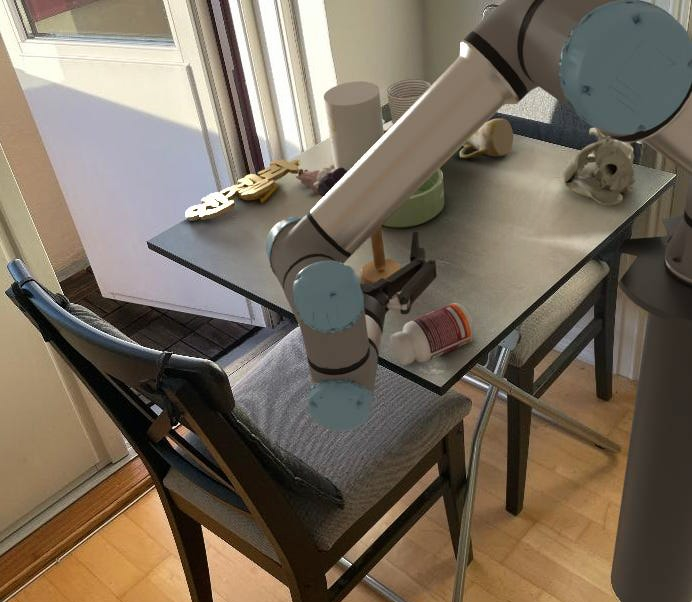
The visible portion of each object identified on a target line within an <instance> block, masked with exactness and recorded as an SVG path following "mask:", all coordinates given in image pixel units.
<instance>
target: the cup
mask: <svg viewBox="0 0 692 602" xmlns="http://www.w3.org/2000/svg"><path fill="white" fill-rule="evenodd" d="M431 85H432V82H429V81H428V80H426V79H420V78H413V79H411V78H409V79H403V80H400V81H397V82H394V83H393V84H391V85H389V86H388V87H387V89H386V96H387V101H388V106H389V111H390V116H391V120H392V122H393V125H394V124H395V123H396V122H397V121H398V120H399V119H400V117H401V116H402V115H403V114H404V113H405V112H406V111H407V110H408V109H409V108H410V107H411V106H412V105H413V104H414V103H415V102H416V101H417V100H418V99H419V98H420V97H421V96H422V95H423V94H424V93H425V92H426V91H427V90H428V89H429V87H430V86H431Z"/></svg>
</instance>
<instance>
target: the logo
mask: <svg viewBox="0 0 692 602" xmlns="http://www.w3.org/2000/svg"><path fill="white" fill-rule="evenodd" d="M253 184H254V183H253ZM275 184H276V185H275V186H274V187H272V188H271V189H269V190H267V191H265V192H263V193H262V194H260V195H258V196H256V197H250V198H245V199H243V198H242V196H240V194H239V195H237V197H238V198H239V199H241V200H244V201H255V200H260V203H262V204H263V203H264V202H265V201H266V200H267V199H268V198H269V197H271V195H272V194H273V193H274V192H275V191H276V190H277V189H278V188H279V185H278V182H275Z"/></svg>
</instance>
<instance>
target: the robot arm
mask: <svg viewBox="0 0 692 602" xmlns="http://www.w3.org/2000/svg"><path fill="white" fill-rule="evenodd" d="M461 40H462V41H460V47H459V48H460V49H459V56H458V57H457V58H456V59H455V60H454V61H453V62H452V63H451V65H449V66H448V67H447V69H445V71H444V72H443V73H442V74H441V75H440V76H439V77H438V78H437V79H436V80H435V81H434V82H433V83H431V86H430V87H429V89H428V90H427V91H426V92H425V93H424V94H423V95H422V96H421V97H420V98H419V99H418V100H417V101H416V102H415V103H414V104H413V105H412V106H411V107H410V108H409V109H408V110H407V111H406V112H405V113H404V114H403V115H402V116H401V117H400V119H399V120H398V121H397V122H396V123H395V124H394V125H393V126H392V127H391V128H390V129H389V130H388V131H385V132H384V135H383V136H382V137H381V138H380V139H379V140H378V141H377V142H376V143H375V144H374V145H373V146H372V147H371V149H370V150H369V151H368V152H367V153H366V154H365V155H364V156H363V157H362V158H361V159H360V160H359V161H358V162H357V163H356V164H355V165H354V166H353V167H352V168H351V169H350V170H349V171H348V172H347V173H346V174H345V175H344V176H343V178H342V179H341V180H340V181H339V182H338V183H337V184H336V185H335V186H334V187H333V188H332V189H331V190H330V191H329V192H328V193H327V194H326V195H325V196H324V197H323V196H322V198H321V199H320V200H319V201H318V202H317V203H316V204H315V205H314V206H313V207H312V208H311V209H310V210H309V211H308V212H307V214H305V215H304V216H303V217H302V216H291V217H288V218H286V219H283V220H281V221H279V222H277V223H276V224H275V225H274V226H273V227H272V228H271V229H270V231H269V233H268V235H267V237H266V242H265V251H266V255H267V258H268V261H269V267H270V268H271V271H272V273H273V274H274V276H275V278H276V279H277V280H278V282H279V284H280V287H281V288H282V291H283V293H284V296H285V298H286V300H287V302H288V305H289V307H290V309H291V311H292V313H293V315H294V318H295V319H296V322H297V324H298V326H299V329H300V332H301V333H300V334H301V335H302V341H303V345H304V349H305V354H306V359H307V365H308V370H309V373H310V379H311V385H310V387H309V389H308V391H307V396H308V399H307V409H308V413H309V415H310V417H311V418H312V420H313V421H314V422H315V423H316V424H317V425H318V426H321V427H322V428H325V429H327V430H329V431H333V432H339V431H341V432H349V431H353V430H356V429H358V428H360V427H362V426H363V425H364V424H365V423H366V422H367V421H368V420H369V416H370V412H371V410H372V405H373V402H374V401H375V397H374V392H375V386H376V379H377V378H376V377H377V371H378V363H379V356H380V351H381V344H382V338H383V332H384V325H385V318H386V314H387V313H388V312H389V311H390V310H400V311H399V312H400V314H402V315H404V316H405V315H408V314H410V311H411V308H412V305H413V304H414V303H415V302H416V300H417V299H418V298H419V297H420V296H421V295H422V294H423V293H424V292H425V291H426V290H427V288H428V287H429V286H430V285H431V284H432V283H433V281H435V280H436V278H437V277H438V275H437V272H438V271H437V262H436V260H434V259H429V260H427V261H426V249H425V248H424V247H420V238H419V231H412V236H411V237H412V238H411V246H410V253H409V261H410V262H408V263H407V264H406V265H404V266H402V267H400V268H401V269H399V270H398V271H396V272H395V273H393V274H392V275H390V276H389V277H387V278H386V279H385V278H381V279H379V280H378V281H376V282H375V283H373V284H372V283H364V284H363V283H360V278H359V275H358V273H357V271H355V269H354V268H353V267H352V266H351V265H345V263H346V262H347V261H348V260H349V258H350V257H351V256H353V254H354V253H355V252H357V251H358V249H359V248H361V246H362V245H364V244H365V242H366V241H367V240H369V239H370V238H371V235H372V234H373V233H374V232H375V231H376V230H377V229H378V228H379V227H380V226H381V227H382V226H384V225H383V224H384V223H385V222H386V221H387V220H388V219H389V218H390V217H391V216H392V215H393V214H394V213H395V212H396V211H397V210H398V209H399V208H400V207H401V206H402V205H403V204H404V203H405V202H406V201H407V200H408V199H409V198H410V197H411V196H412V195H413V194H414V193H415V192H416V191H417V190H418V189H419V188H420V187H421V186H422V185H423V184H424V183H425V182H426V181H427V180H428V179H429V178H430V177H431V176H432V175H433V174H434V173H435V172H436V171H437V170H438V169H441V167H443V166H444V165H445V164H446V163H447V162H448V160H449V159H451V158H452V157H453V155H455V154H456V153H457V151H459V150H460V149H461V148H462V146H464V145H463V144H464V143H466V142H467V141H468V140H469V139H470V138H471V137H472V136H473V135H474V134H475V133H476V132H477V131H478V130H479V129H480V128H481V127H482V126H483V125H484V124H485V123H486V122H488V121H490V120H491V118H493V116H494V115H495V114H496V113H497V112H499V110H500V109H501V108H502V107H504V106H505V105H518V104H519V103H520V102H521V101H522V100H523V99H524V98H525V97H526V96H527V95H528V94H529V93H530V92H532V91H533V90H535V89H537V88H540V89H541V90H543V91H544V92H546V93H547V94H549V95H550V96H552V97H553V98H555V99H556V100H558V101H559V102H560V103H562V104H563V105H565V106H566V107H567V108H568V109H570V110H571V111H573V112H575V114H576V115H577V116H578V118H580V119H581V120H583V121H584V122H585V123H586V124H588V125H589V126H591V127H592V128H594V127H595V128H599V129H600V130H602V131H603V132H605V133H606V134H608V135H609V136H610V137H612V138H613V139H615V140H617V141H620V142H625V143H630V144H632V143H639V142H643V143H644V144H646V146H647V145H648V147H650V148H651V149H653V150H654V151H655V152H657V153H658V154H660V155H661V156H662V157H664V158H665V159H666V160H668V161H669V162H671V163H672V164H674V165H675V166H676V167H678V168H679V169H681V170H682V171H683V172H684V173H686V174H687V175H688V176H689V177H688V183H687V189H686V197H685V206H684V209H683V210H684V211H683V215H684V216H683V219H682V221H681V222H680V224H679V226H678V228H677V229H676V231H675V233H674V234H673V235H672V236H671V237H670V238H669V239H668V241H667V242H666V244H667V243H668V242H669V243H668V245H667V248H666V250H665V257H664V266H665V269H666V271H667V272H668V273H669V275H670V276H671V277H672V278H674V279H675V280H676V281H678V282H679V283H681V284H683V285H685V286H687V287H690V288H692V40H691V37H690V35H689V33H688V31H687V30H686V28H685V27H684V25H682V23H680V21H678V20H677V19H676V18H675V17H674V16H673V15H672V14H671V13H669V12H668V11H667V10H665V9H664V8H662V7H660V6H659V5H656V4H654V3H651V2H649V1H645V0H504V1H503V2H501V3H500V4H498V6H496V7H495V8H494V9H493V10H492V11H491V12H490V13H489V14H488V15H486V16H485V17H484V18H483V19H482V20H481V21H480V22H479V23H478V24H477V25H476V26H475V27H474V28H473V29H472V30H471V31H470V32H469V33H468V34H467V35H466V36H465V37H464V38H463V39H461ZM666 244H665V245H666Z"/></svg>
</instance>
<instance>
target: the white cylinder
mask: <svg viewBox="0 0 692 602" xmlns="http://www.w3.org/2000/svg"><path fill="white" fill-rule="evenodd" d="M323 102H324V108H325V114H326V121H327V128H328V133H329V140H330V147H331V152H332V158H333V159H332V160H333V164H334V165H333V166H334V167H335V168H339V167H342V168H344V169H345V170H347V171H349V170H350V169H351V168H352V167H353V166H354V165H355V164H356V163H357V162H358V161H359V160H360V159H361V158H362V157H363V156H364V155H365V154H366V153H367V152H368V151H369V150H370V149H371V147H372V146H373V145H374V144H375V143H376V142H377V141H378V140H379V139H380V138H381V137H382V136H383V135H384V134H385V131H384V128H383V120H384V119H383V110H382V104H381V103H382V102H381V94H380V87H379V86H378V85H377V84H375V83H373V82H369V81H350V82H349V81H348V82H344V83H341V84H337V85H335V86H333V87H331V88H329V89H328V90H327V91H325V93H324V95H323Z"/></svg>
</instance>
